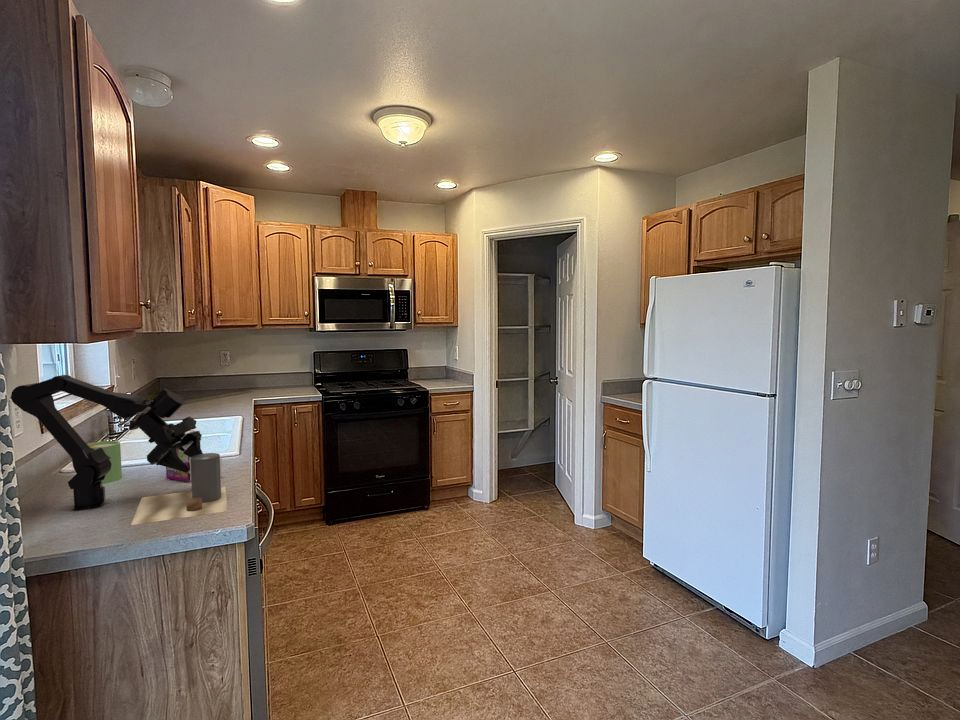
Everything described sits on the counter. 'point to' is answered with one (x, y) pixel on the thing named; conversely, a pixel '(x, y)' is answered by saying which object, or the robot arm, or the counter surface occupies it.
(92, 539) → the counter surface
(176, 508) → the birch board
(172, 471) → the candy bar box
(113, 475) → the mug
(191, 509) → the brown round knob
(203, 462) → the grey cylinder
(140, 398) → the robot arm
